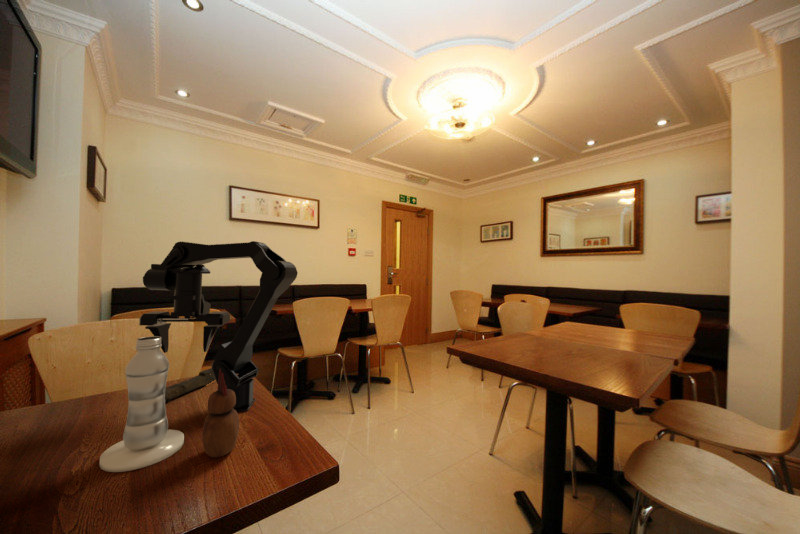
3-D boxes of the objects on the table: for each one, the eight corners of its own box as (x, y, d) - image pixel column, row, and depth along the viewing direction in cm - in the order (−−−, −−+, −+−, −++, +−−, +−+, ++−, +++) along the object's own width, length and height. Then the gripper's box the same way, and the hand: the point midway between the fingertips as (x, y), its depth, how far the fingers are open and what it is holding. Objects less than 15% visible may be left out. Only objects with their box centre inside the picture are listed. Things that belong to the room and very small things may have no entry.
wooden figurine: (206, 445, 59) (208, 367, 59) (239, 439, 61) (241, 364, 62) (198, 465, 53) (201, 378, 53) (236, 458, 55) (238, 374, 55)
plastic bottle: (175, 435, 60) (178, 334, 61) (150, 455, 54) (154, 342, 54) (141, 436, 60) (144, 334, 60) (111, 456, 53) (115, 342, 54)
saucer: (195, 432, 64) (196, 427, 64) (160, 468, 52) (160, 462, 52) (131, 436, 62) (131, 431, 62) (79, 475, 50) (79, 469, 50)
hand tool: (162, 407, 76) (163, 388, 76) (150, 405, 77) (151, 386, 77) (224, 382, 94) (225, 366, 94) (214, 380, 95) (215, 365, 95)
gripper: (238, 289, 88) (236, 344, 87) (165, 288, 85) (163, 345, 84) (222, 292, 77) (220, 354, 76) (139, 291, 74) (136, 356, 73)
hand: (185, 351), depth 78 cm, fingers open, 9 cm apart
